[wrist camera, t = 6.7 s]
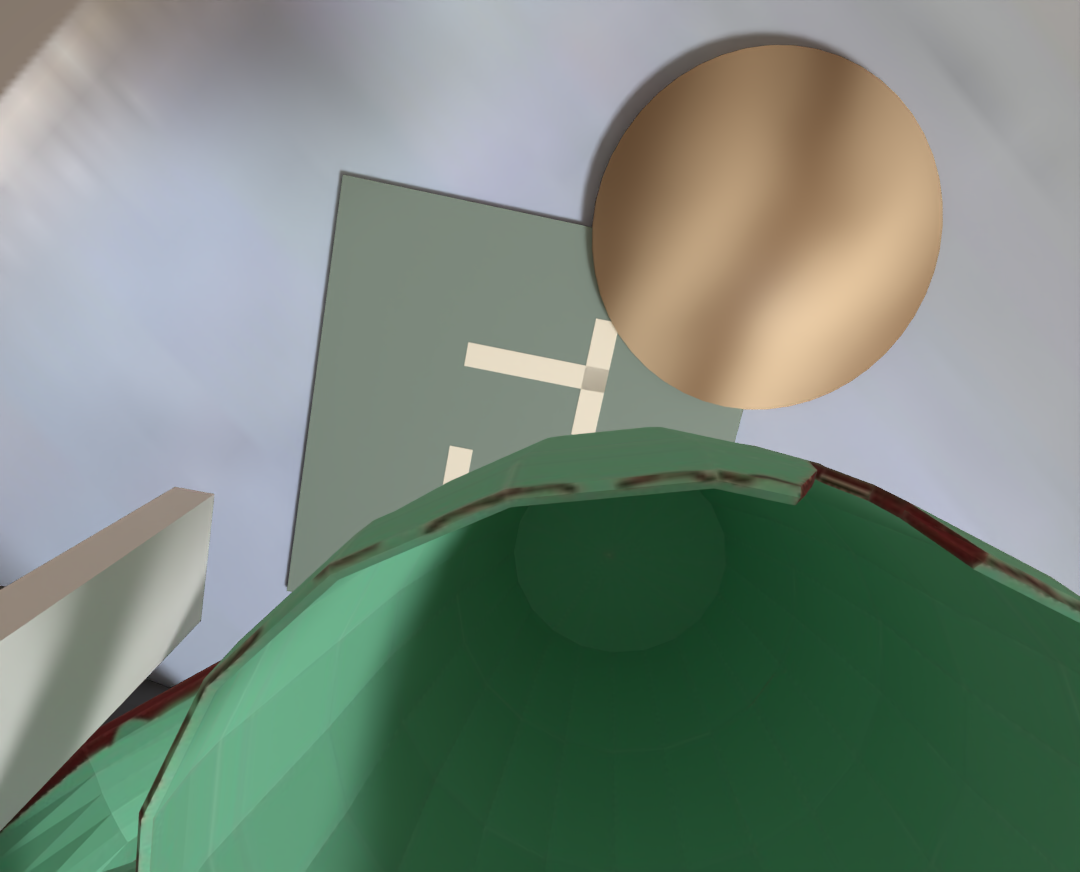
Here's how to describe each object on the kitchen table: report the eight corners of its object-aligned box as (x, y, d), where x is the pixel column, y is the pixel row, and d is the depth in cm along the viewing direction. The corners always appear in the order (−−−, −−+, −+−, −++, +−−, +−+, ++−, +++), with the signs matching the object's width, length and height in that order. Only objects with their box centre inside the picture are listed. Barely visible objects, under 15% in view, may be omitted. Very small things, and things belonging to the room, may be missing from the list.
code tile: (288, 589, 32) (286, 590, 31) (343, 175, 28) (342, 174, 28) (675, 657, 33) (676, 659, 32) (779, 267, 29) (781, 267, 29)
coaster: (559, 372, 30) (560, 373, 29) (635, 13, 27) (637, 7, 26) (875, 435, 31) (882, 438, 30) (981, 93, 28) (991, 89, 27)
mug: (794, 277, 14) (1234, 306, 4) (878, 695, 16) (1303, 1330, 7) (150, 456, 16) (-515, 749, 6) (299, 810, 18) (-34, 1435, 8)
